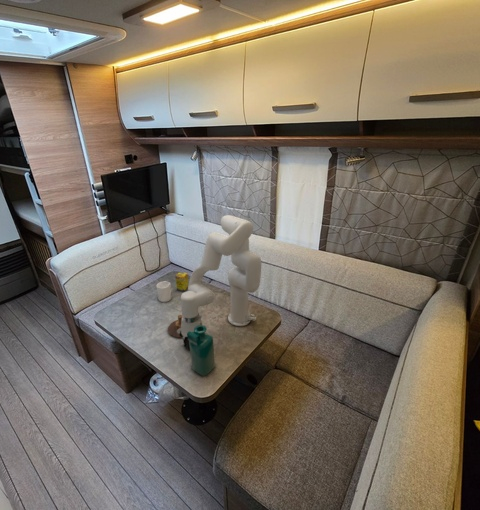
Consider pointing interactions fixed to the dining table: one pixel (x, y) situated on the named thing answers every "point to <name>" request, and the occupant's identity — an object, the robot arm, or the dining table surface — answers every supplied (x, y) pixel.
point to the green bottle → (201, 350)
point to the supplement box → (182, 281)
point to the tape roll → (187, 344)
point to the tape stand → (175, 327)
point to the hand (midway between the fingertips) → (193, 345)
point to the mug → (164, 291)
